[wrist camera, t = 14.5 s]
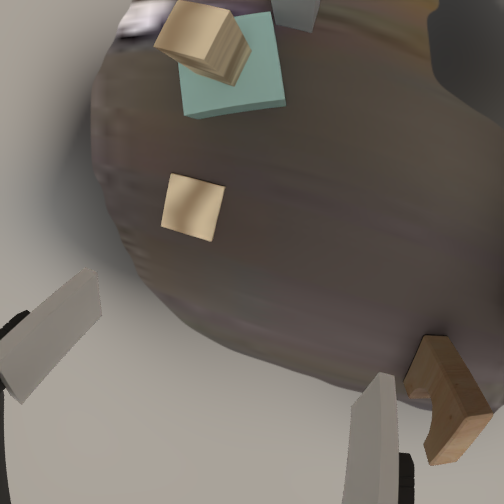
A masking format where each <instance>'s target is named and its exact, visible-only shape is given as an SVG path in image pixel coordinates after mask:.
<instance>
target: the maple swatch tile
mask: <svg viewBox="0 0 504 504" xmlns="http://www.w3.org/2000/svg"><path fill="white" fill-rule="evenodd" d="M224 191H225V187H224V186H220V185H217V184H213V183H209V182H206V181H202V180H198V179H194V178H190V177H186V176H182V175H179V174H175V173H171V176H170V181H169V186H168V191H167V196H166V201H165V206H164V211H163V217H162V223H161V226H162V227H165V228H168V229H172V230H175V231H178V232H181V233H185V234H188V235H191V236H194V237H198V238H201V239H204V240H208V241H211V242H212V240H213V236H214V232H215V228H216V224H217V219H218V215H219V211H220V207H221V203H222V199H223V195H224Z"/></svg>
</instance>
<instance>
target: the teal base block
mask: <svg viewBox="0 0 504 504" xmlns="http://www.w3.org/2000/svg"><path fill="white" fill-rule="evenodd" d="M234 19H235V20H236V22H237V24H238V26H239V28H240V30H241V32H242V33H243V35H244V37H245V39H246V41H247V43H248V45H249V47H250V49H251V51H252V52H251V54H250V56H249V58H248V60H247V62H246V64H245V66H244V68H243V70H242V72H241V74H240V76H239V78H238V80H237V83H236V85H235V87H233V86H230V85H228V84H225V83H222V82H219V81H216V80H213V79H210V78H207V77H204V76H201V75H198V74H196V73H194V72H193V71H191V70H190V69H188V68H187V67H185V66H184V65H182V64H180V63H179V62H178V66H179V76H180V85H181V93H182V102H183V110H184V116H188V117H191V118H195V119H203V118H208V117H214V116H220V115H225V114H231V113H238V112H244V111H251V110H259V109H266V108H275V107H284V106H286V100H285V93H284V86H283V79H282V73H281V66H280V60H279V54H278V48H277V42H276V36H275V31H274V25H273V21H272V16H271V12H262V13H255V14H249V15H243V16H237V17H234Z"/></svg>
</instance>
